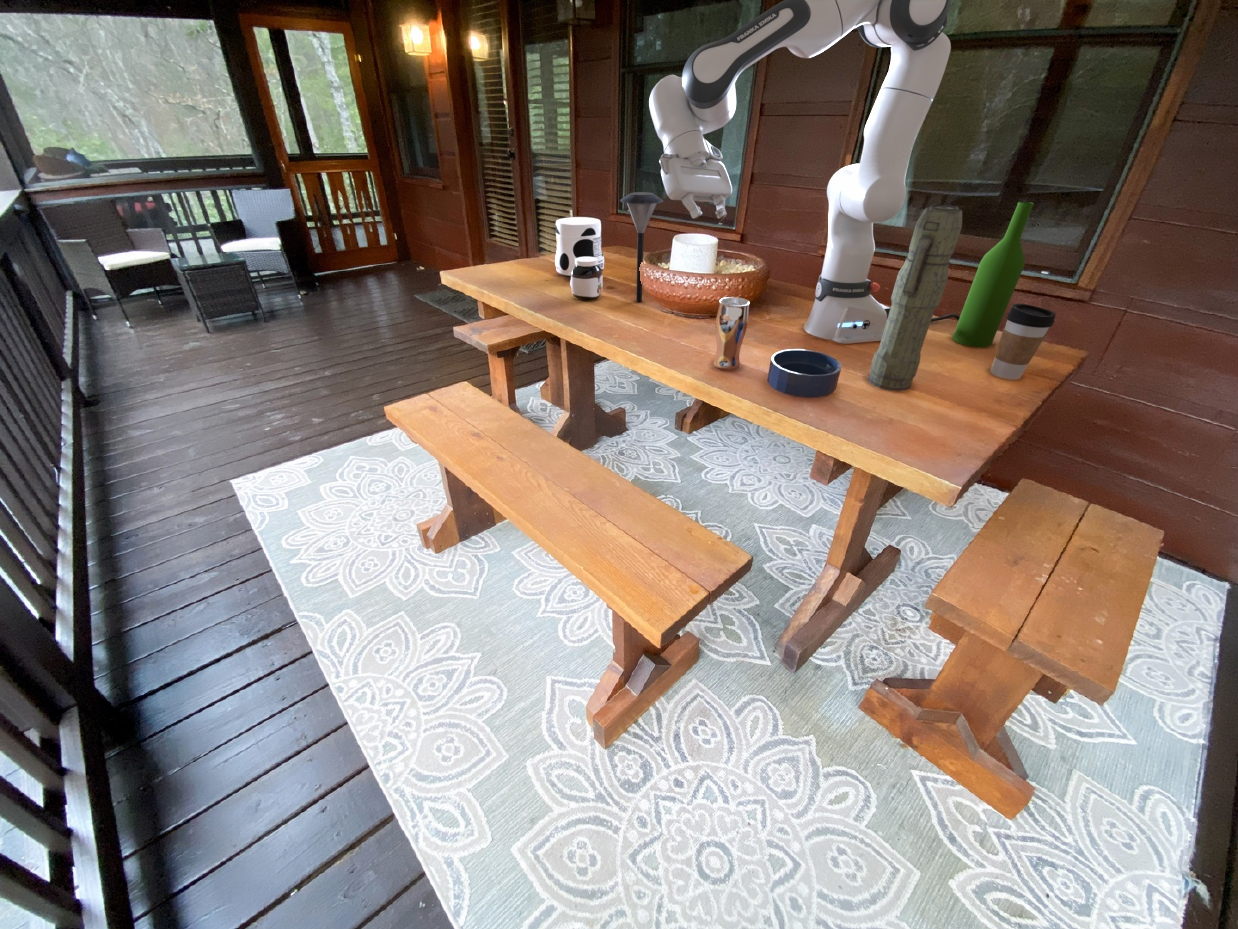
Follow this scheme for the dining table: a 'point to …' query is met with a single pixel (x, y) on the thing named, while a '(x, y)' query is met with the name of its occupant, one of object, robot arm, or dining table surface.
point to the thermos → (916, 297)
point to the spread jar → (586, 279)
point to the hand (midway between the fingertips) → (710, 217)
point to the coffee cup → (1020, 339)
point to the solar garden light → (640, 224)
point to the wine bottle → (993, 285)
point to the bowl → (803, 373)
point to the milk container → (577, 242)
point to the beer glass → (730, 332)
